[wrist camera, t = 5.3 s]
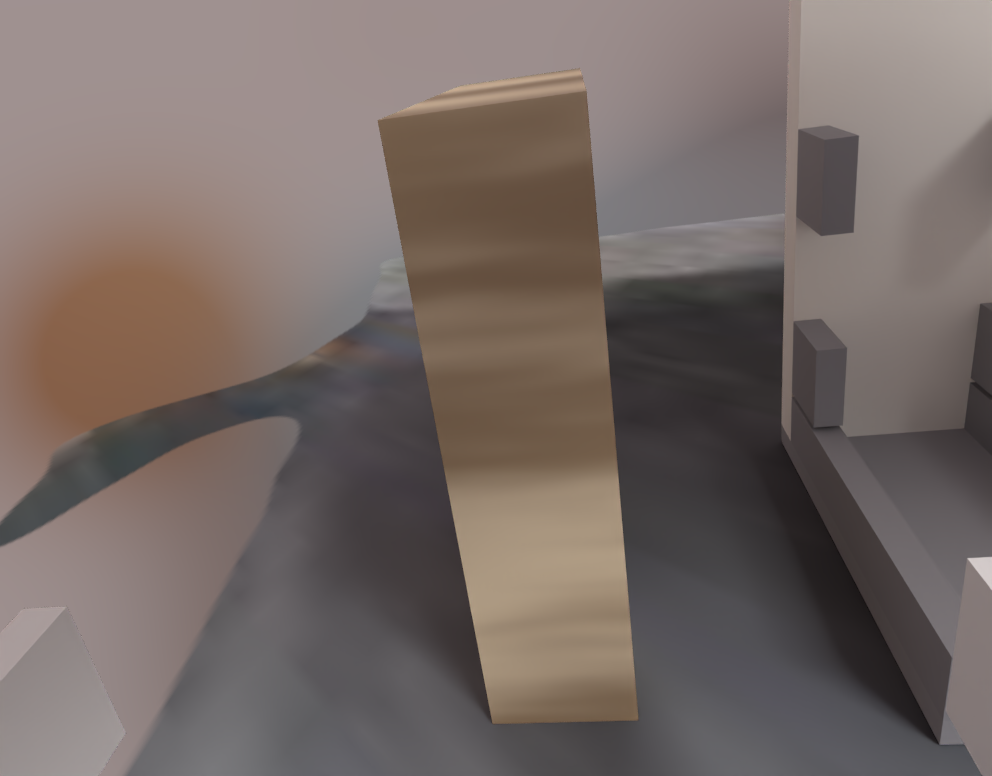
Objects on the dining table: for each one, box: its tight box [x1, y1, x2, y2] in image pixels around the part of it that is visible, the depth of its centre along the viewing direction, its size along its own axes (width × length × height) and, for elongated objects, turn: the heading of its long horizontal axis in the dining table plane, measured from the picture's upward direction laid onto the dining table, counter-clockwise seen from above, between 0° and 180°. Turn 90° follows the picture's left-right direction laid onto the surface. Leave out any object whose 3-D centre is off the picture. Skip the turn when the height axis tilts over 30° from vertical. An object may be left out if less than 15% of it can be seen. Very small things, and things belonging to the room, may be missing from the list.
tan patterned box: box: [378, 68, 638, 724], centre depth 23 cm, size 12×4×16 cm, turn 175°
